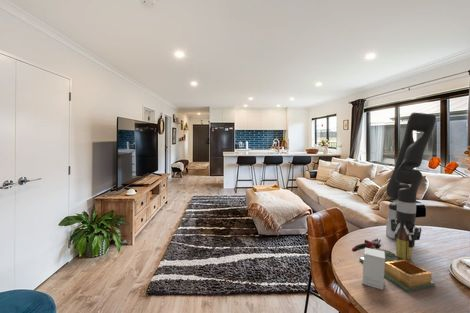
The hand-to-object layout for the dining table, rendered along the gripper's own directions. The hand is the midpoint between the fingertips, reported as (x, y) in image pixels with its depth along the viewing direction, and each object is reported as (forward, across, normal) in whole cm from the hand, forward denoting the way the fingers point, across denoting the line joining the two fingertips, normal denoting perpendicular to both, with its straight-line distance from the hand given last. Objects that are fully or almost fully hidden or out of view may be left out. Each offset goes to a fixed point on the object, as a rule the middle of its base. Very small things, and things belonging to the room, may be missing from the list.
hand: (404, 244), depth 114 cm
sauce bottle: (+8, 0, 0) cm, 8 cm away
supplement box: (+8, -12, +30) cm, 33 cm away
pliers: (+8, +14, +6) cm, 18 cm away
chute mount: (+8, -8, +15) cm, 19 cm away
